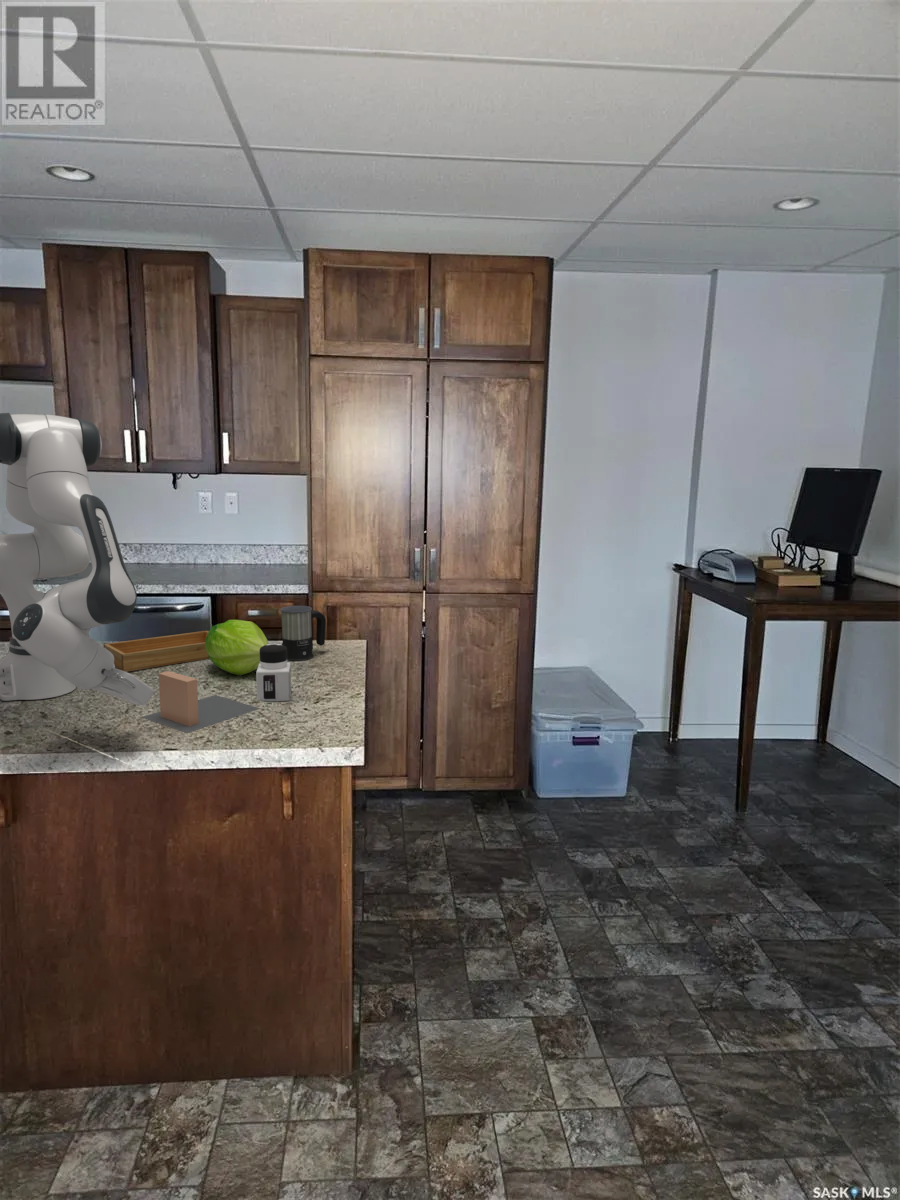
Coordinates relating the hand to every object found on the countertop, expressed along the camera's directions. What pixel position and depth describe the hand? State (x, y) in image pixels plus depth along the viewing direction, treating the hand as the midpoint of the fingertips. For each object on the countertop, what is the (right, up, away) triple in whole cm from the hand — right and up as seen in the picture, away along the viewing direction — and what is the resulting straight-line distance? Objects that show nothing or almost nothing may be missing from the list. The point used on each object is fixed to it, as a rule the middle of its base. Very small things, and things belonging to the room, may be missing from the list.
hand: (137, 701), depth 152 cm
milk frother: (+18, +5, +68) cm, 71 cm away
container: (+22, -3, +28) cm, 36 cm away
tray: (-17, +4, +60) cm, 62 cm away
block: (+5, -5, +9) cm, 12 cm away
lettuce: (+7, +1, +49) cm, 49 cm away
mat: (+9, -5, +14) cm, 17 cm away
